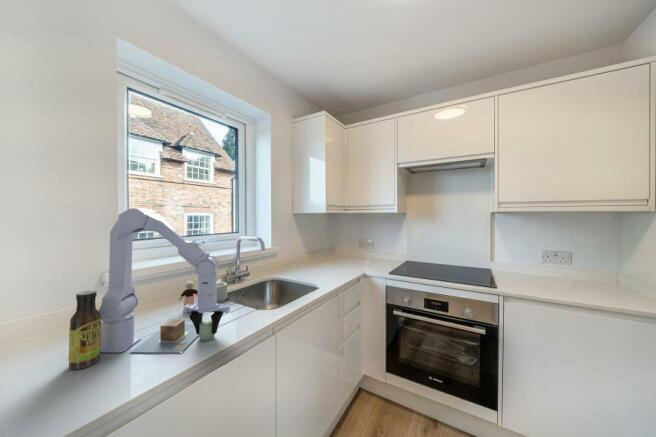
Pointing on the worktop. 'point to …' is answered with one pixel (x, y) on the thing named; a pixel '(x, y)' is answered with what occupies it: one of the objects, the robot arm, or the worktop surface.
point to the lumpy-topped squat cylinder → (221, 290)
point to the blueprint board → (168, 342)
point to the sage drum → (205, 330)
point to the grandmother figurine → (189, 294)
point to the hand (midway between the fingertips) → (206, 332)
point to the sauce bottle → (84, 332)
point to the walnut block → (172, 330)
